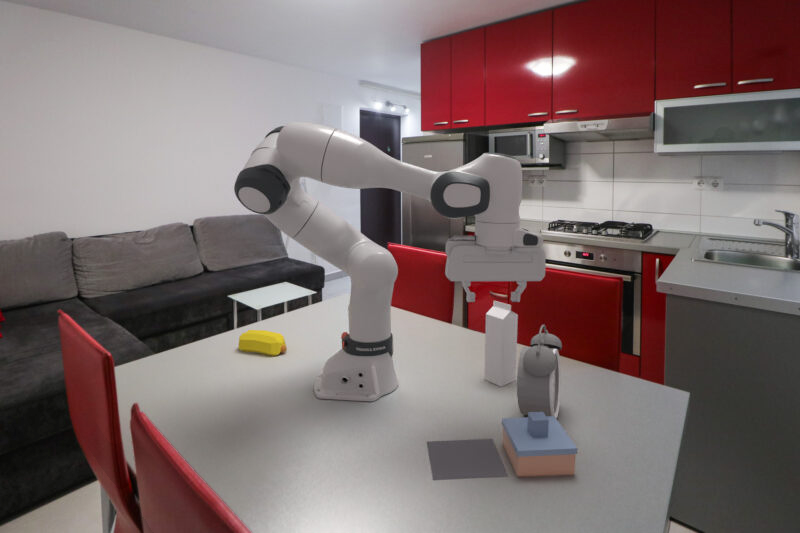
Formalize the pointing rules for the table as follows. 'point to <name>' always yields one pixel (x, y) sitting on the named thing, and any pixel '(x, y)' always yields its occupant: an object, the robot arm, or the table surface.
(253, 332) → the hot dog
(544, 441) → the lid
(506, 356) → the milk
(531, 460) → the dish
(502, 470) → the mat
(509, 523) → the table surface
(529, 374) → the alarm clock
